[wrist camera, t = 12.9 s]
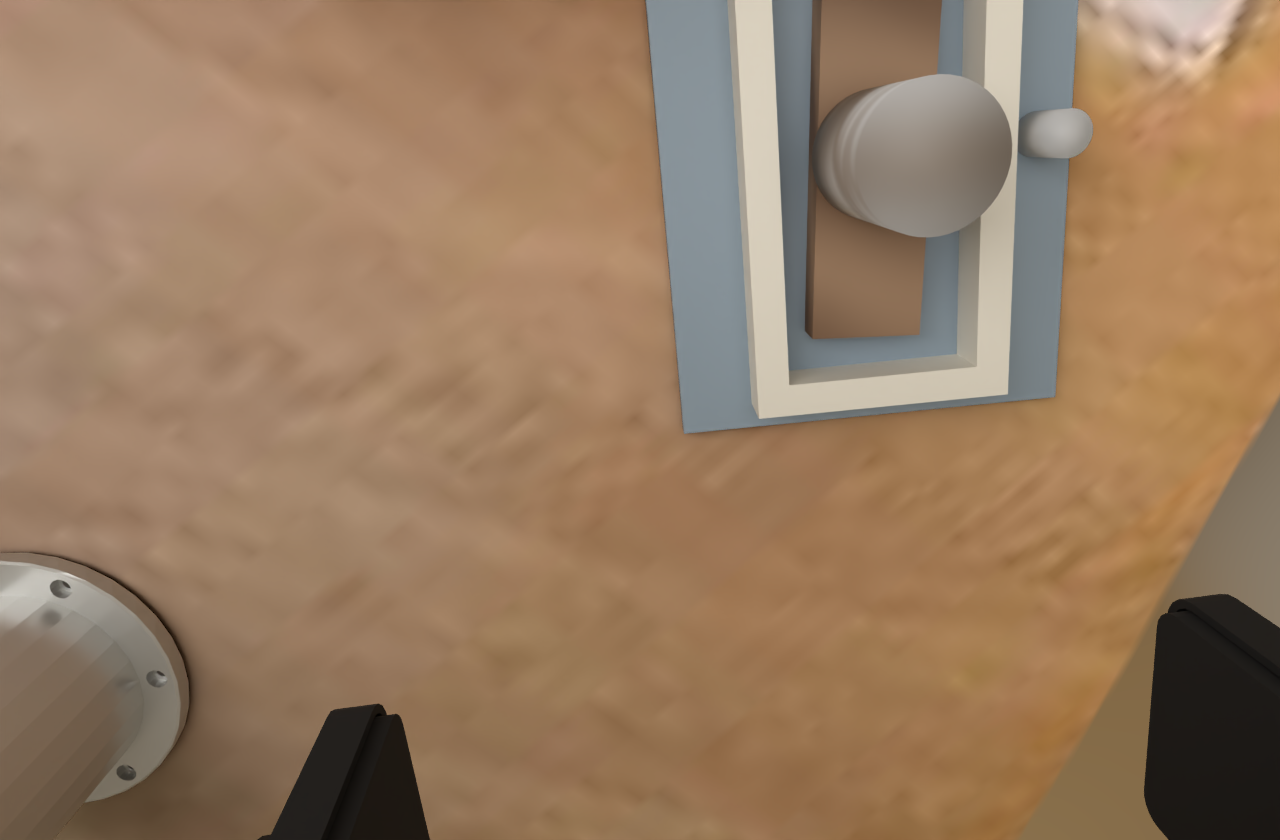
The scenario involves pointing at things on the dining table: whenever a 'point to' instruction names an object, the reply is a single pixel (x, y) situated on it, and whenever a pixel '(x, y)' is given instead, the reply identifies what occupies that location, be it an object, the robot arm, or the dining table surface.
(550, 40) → the dining table surface
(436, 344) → the dining table surface
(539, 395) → the dining table surface
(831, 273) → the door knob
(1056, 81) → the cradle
